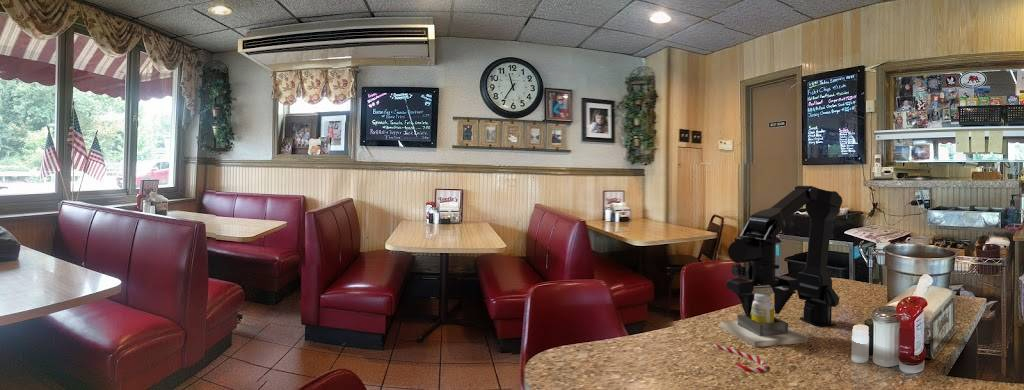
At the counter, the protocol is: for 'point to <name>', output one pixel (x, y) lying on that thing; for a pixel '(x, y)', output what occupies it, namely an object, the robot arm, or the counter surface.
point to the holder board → (763, 332)
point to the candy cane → (749, 369)
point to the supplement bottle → (762, 309)
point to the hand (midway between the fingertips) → (762, 314)
